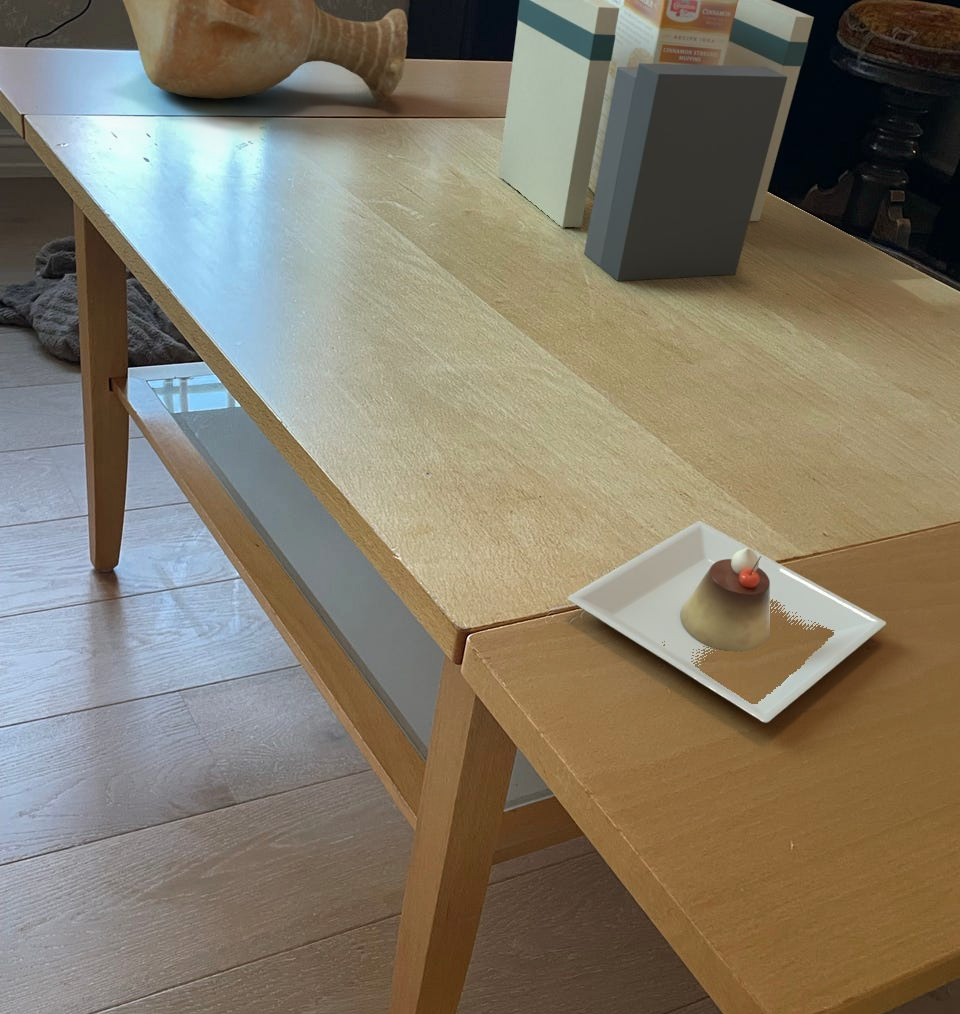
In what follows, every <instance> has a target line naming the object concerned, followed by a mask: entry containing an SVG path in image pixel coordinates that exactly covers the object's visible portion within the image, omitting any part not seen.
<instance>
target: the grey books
mask: <svg viewBox="0 0 960 1014" xmlns="http://www.w3.org/2000/svg"><path fill="white" fill-rule="evenodd" d="M786 81H787V76H784V75H782V74H780V73H778V72H776V71H774V70H772V69H770V68H767V67H757V66H721V65H684V64H648V63H639V66H638V67H617V72H616V78H615V83H614V89H613V95H612V100H611V106H610V111H609V117H608V123H607V128H606V134H605V139H604V145H603V151H602V156H601V162H600V167H599V173H598V178H597V184H596V190H595V194H594V196H593V201H592V207H591V212H590V217H589V218H590V219H589V223H588V229H587V234H586V240H585V241H586V242H585V245H584V246H585V247H584V252H583V255H585V256H586V257H587V258H589V259H590V260H591V261H592V262H593V263H594V264H596V265H597V266H599V267H600V268H601V269H602V270H603V271H604V272H606V273H607V274H608V275H609V276H610V277H612V278H613V279H614V280H615V281H617V282H620V281H621V282H622V281H623V282H624V281H641V280H642V281H643V280H658V279H659V280H661V279H676V278H677V279H678V278H679V279H680V278H692V277H693V278H694V277H710V276H711V277H712V276H727V275H728V276H729V275H730V276H731V275H736V274H737V270H738V266H739V262H740V259H741V254H742V252H743V251H742V250H743V248H744V243H745V240H746V236H747V232H748V229H749V224H750V222H751V221H750V217H751V213H752V210H753V206H754V202H755V198H756V194H757V191H758V187H759V183H760V179H761V176H762V172H763V168H764V164H765V160H766V157H767V153H768V149H769V145H770V141H771V138H772V134H773V130H774V126H775V123H776V119H777V115H778V111H779V107H780V104H781V100H782V96H783V92H784V88H785V85H786Z"/></svg>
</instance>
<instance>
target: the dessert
mask: <svg viewBox="0 0 960 1014" xmlns="http://www.w3.org/2000/svg"><path fill="white" fill-rule="evenodd" d="M772 599H773V602H774V601H776V600H777V602H780V603H778V606H779V605H780V604H781V606H780V607H779V608H778V610H779V609H780V608H781V607H782V606H783V605H785V606H783V607H782V609H781V611H782V610H783V609H784V608H785V609H784V610H783V611H782V612H783V613H784V612H785V611H786V614H787V613H788V612H789V611H790V612H789V614H788V615H787V617H788V616H789V615H790V617H789V618H788V619H787V621H788V620H789V619H790V618H791V617H792V616H793V615H794V617H792V618H791V621H792V620H793V619H794V618H795V617H796V616H798V617H796V618H795V619H794V620H795V621H796V620H797V619H798V622H799V621H800V620H801V619H802V621H801V622H800V623H799V625H800V624H801V623H802V622H803V621H804V620H805V621H804V622H803V623H802V626H803V625H804V624H805V623H806V626H807V625H808V624H809V627H810V626H811V625H812V624H813V623H814V622H816V623H814V624H813V627H814V626H815V625H816V624H818V623H819V624H818V625H821V626H820V627H822V626H824V627H823V628H826V627H827V629H830V630H834V631H832V632H834V635H833V636H832V637H830V638H828V641H826V642H825V644H824V645H822V647H821V648H819V649H818V650H817V651H815V652H814V653H813V654H812V656H810V657H808V658H809V659H807V660H806V661H805V664H804V665H802V666H801V668H800V669H797V671H796V672H794V673H793V674H791V675H789V677H788V678H787V679H786V680H785V681H784V682H783V683H782V684H781V686H778V687H776V689H774V690H773V692H771V694H767V695H766V697H765V698H764V699H761V701H759V702H758V704H751V703H749V702H748V701H746V700H744V699H743V698H741V697H740V696H739V695H737V694H736V693H734V692H732V691H731V690H729V689H727V688H726V687H724V686H723V685H721V684H720V683H718V682H717V681H715V680H714V679H712V678H711V677H709V676H708V675H706V674H705V673H703V672H702V671H700V669H699V668H697V667H695V664H697V663H695V664H693V663H694V662H696V661H698V660H695V659H697V658H699V657H700V656H702V655H704V654H701V653H703V652H704V651H701V650H703V649H705V648H706V647H708V646H710V647H709V648H706V649H705V651H706V650H708V649H710V648H711V647H713V649H715V648H716V649H719V650H724V651H735V652H737V651H740V652H742V651H743V650H744V651H746V650H750V649H755V648H757V647H759V646H761V645H762V644H764V643H765V642H766V641H767V640H768V638H769V636H770V606H771V604H772V603H771V604H770V601H771V600H772ZM567 600H568V601H569V602H570V603H572V604H574V605H575V606H577V607H579V608H580V609H581V610H584V612H586V613H588V614H589V615H592V616H593V617H595V618H596V619H598V620H599V621H601V622H603V623H604V624H605V625H607V626H608V627H610V628H612V629H614V630H615V631H617V632H618V633H620V634H622V635H623V636H624V637H626V638H628V639H630V640H631V641H632V642H634V643H636V644H638V645H639V646H641V647H642V648H644V649H646V650H647V651H649V652H650V653H652V654H654V655H655V656H656V657H659V658H660V659H662V660H663V661H665V662H667V663H668V664H670V666H673V668H676V669H678V670H679V671H680V672H682V673H684V674H685V675H687V676H688V677H690V678H692V679H693V680H695V681H697V682H698V683H700V684H702V686H704V687H706V688H707V689H709V690H711V691H713V692H714V693H715V694H717V695H719V696H721V697H722V698H723V699H725V700H727V701H729V702H730V703H731V704H733V705H734V706H736V707H738V708H739V709H741V710H743V711H744V712H746V713H748V714H749V715H750V716H752V717H753V718H755V719H757V720H759V721H760V722H762V723H765V724H767V723H769V722H770V721H772V719H774V718H775V717H776V716H777V715H778V714H780V713H781V712H782V711H783V710H784V709H786V708H788V707H789V705H791V704H792V703H793V702H794V701H795V700H797V699H798V698H799V697H800V696H801V695H803V694H804V693H806V691H807V690H809V689H810V688H811V687H812V686H814V685H815V684H816V683H817V682H818V681H819V680H821V679H822V678H823V677H824V676H825V675H826V674H828V673H829V672H831V671H832V670H833V669H834V668H835V667H836V666H837V665H839V664H840V663H841V662H843V661H844V660H845V659H846V658H847V657H849V656H850V655H851V654H852V653H853V652H855V651H856V650H857V649H858V648H859V647H861V646H862V645H863V644H864V643H866V642H867V641H868V640H869V639H870V638H871V637H872V636H874V635H875V634H876V633H878V632H879V631H880V630H881V629H883V628H884V626H886V625H887V622H886V621H885V620H884V619H881V618H880V617H877V616H876V615H874V614H872V613H871V612H869V611H867V610H865V609H863V608H861V607H859V606H857V605H856V604H854V603H852V602H851V601H849V600H846V599H845V598H843V597H841V596H839V595H838V594H835V593H834V592H832V591H830V590H828V589H826V588H825V587H823V586H821V585H820V584H817V583H816V582H814V581H812V580H810V579H808V578H806V577H805V576H803V575H800V574H799V573H797V572H795V571H794V570H792V569H790V568H788V567H786V566H784V565H783V564H781V563H779V562H777V561H775V560H773V559H772V558H770V557H768V556H766V555H764V554H763V553H760V552H759V551H757V550H756V549H753V548H752V547H750V546H748V545H746V544H744V543H742V542H740V541H739V540H737V539H735V538H733V537H731V536H730V535H727V534H726V533H724V532H722V531H720V530H719V529H717V528H714V527H713V526H711V525H708V524H707V523H705V522H704V521H703V520H697V521H695V522H694V523H692V524H690V525H689V526H687V527H685V528H683V529H682V530H680V531H677V532H676V533H675V534H673V535H671V536H670V537H668V538H666V539H665V540H663V541H661V542H659V543H658V544H655V545H654V546H652V547H651V548H649V549H647V550H645V551H644V552H642V553H641V554H639V555H637V556H635V557H633V558H632V559H630V560H628V561H626V562H624V563H623V564H621V565H619V566H617V567H616V568H615V569H613V570H611V571H609V572H608V573H606V574H604V575H603V576H601V577H599V578H597V579H596V580H594V581H592V582H591V583H589V584H587V585H586V586H584V587H582V588H580V589H578V590H577V591H575V592H573V593H572V594H570V595H568V596H567ZM777 602H776V603H777ZM776 603H775V604H776ZM775 604H774V606H775ZM774 606H773V607H774ZM778 606H777V607H778ZM773 607H771V609H772V608H773ZM777 607H775V608H774V609H776V608H777ZM773 611H774V610H773ZM773 611H772V612H773ZM781 611H780V612H781ZM772 612H771V613H772ZM776 612H777V611H776ZM776 612H775V613H776ZM780 612H779V613H780ZM792 612H793V613H792ZM796 612H797V613H796ZM795 613H796V614H795ZM786 614H785V615H786ZM785 615H784V616H785ZM784 616H783V617H784ZM800 616H801V617H800ZM808 620H809V621H808ZM791 621H790V622H791ZM811 621H812V622H811ZM790 622H789V623H790ZM798 622H797V623H798ZM793 623H794V622H793ZM793 623H791V625H792V624H793ZM797 623H796V624H797ZM796 624H795V625H796ZM818 625H816V627H817V626H818ZM806 626H805V627H806ZM805 627H804V628H805ZM809 627H807V628H806V630H807V629H808V628H809ZM813 627H811V628H810V630H811V629H812V628H813ZM804 628H803V629H804ZM814 629H815V628H814ZM814 629H813V630H814ZM664 641H665V642H664ZM662 642H663V643H662ZM703 643H704V644H703ZM664 644H665V646H663V645H664ZM703 646H705V647H703ZM693 649H694V650H693ZM698 649H700V650H698ZM713 649H710V651H711V650H713ZM696 650H697V651H696ZM699 651H700V653H697V652H699ZM710 651H708V652H710ZM715 651H716V650H715ZM692 652H694V653H692ZM708 652H705V654H706V653H708ZM696 653H697V654H696ZM712 653H713V652H712ZM710 654H711V653H710ZM692 655H694V656H692ZM697 655H699V656H698V657H695V656H697ZM706 656H707V655H706ZM706 656H704V657H706ZM704 657H703V658H704ZM691 658H693V659H691ZM700 659H702V658H699V660H700ZM693 660H694V661H693ZM704 660H705V659H704ZM691 661H693V662H691ZM699 662H701V661H698V663H699ZM699 665H701V664H699ZM699 665H698V666H699Z"/></svg>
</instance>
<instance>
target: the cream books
mask: <svg viewBox="0 0 960 1014" xmlns="http://www.w3.org/2000/svg"><path fill="white" fill-rule="evenodd" d="M618 14H619V8H618V7H616V6H614V5H612V4H610V3H608V2H606V1H604V0H519V1H518V10H517V18H516V19H517V24H516V31H515V32H516V33H515V41H514V46H513V47H514V49H513V56H512V63H511V71H510V79H509V88H508V95H507V103H506V111H505V119H504V126H503V136H502V141H501V150H500V158H499V166H498V175H499V176H500V177H501V178H502V179H504V180H505V181H507V183H509V184H510V185H511V186H513V187H514V188H515V189H516V190H518V191H519V192H520V193H521V194H522V195H523V196H525V197H526V198H527V199H528V200H529V201H531V202H532V203H533V204H534V205H536V206H537V207H538V208H539V209H540V210H539V209H538V208H537V207H536V206H535V207H536V208H537V209H538V210H539V211H541V210H542V211H543V212H544V213H545V214H544V213H543V212H542V211H541V212H542V213H543V214H544V215H545V216H547V215H548V216H549V217H550V218H549V217H548V216H547V217H548V218H549V219H551V220H552V221H553V220H554V221H555V222H554V221H553V222H554V223H556V224H557V225H558V226H559V225H560V226H559V227H561V228H562V229H566V228H565V227H575V228H582V225H583V220H584V214H585V209H586V202H587V197H588V190H589V187H588V186H589V180H590V174H591V168H592V163H593V157H594V151H595V146H596V140H597V134H598V128H599V123H600V117H601V111H602V105H603V100H604V94H605V88H606V83H607V77H608V71H609V65H610V61H611V59H612V53H613V48H614V42H615V36H616V35H615V31H616V25H617V20H618ZM814 19H815V17H814V16H811V15H809V14H807V13H804V12H801V11H799V10H796V9H794V8H791V7H789V6H786V5H784V4H782V3H779V2H777V1H774V0H739V1H738V4H737V8H736V12H735V16H734V20H733V25H732V29H731V33H730V38H729V42H728V46H727V51H726V55H725V59H724V63H723V66H757V67H767V68H770V69H772V70H774V71H776V72H778V73H780V74H782V75H784V76H787V81H786V85H785V88H784V92H783V96H782V100H781V104H780V107H779V111H778V115H777V119H776V123H775V126H774V130H773V134H772V138H771V141H770V145H769V149H768V153H767V157H766V160H765V164H764V168H763V172H762V176H761V179H760V183H759V187H758V191H757V194H756V198H755V202H754V206H753V210H752V213H751V217H750V221H749V222H759V221H760V219H761V216H762V211H763V208H764V204H765V201H766V198H767V192H768V189H769V186H770V182H771V179H772V176H773V172H774V167H775V163H776V160H777V156H778V152H779V149H780V145H781V142H782V138H783V135H784V131H785V127H786V124H787V123H786V122H787V120H788V115H789V111H790V108H791V105H792V101H793V98H794V93H795V90H796V85H797V83H798V79H799V75H800V72H801V71H800V70H801V68H802V66H803V63H804V59H805V55H806V52H807V48H808V44H809V38H810V34H811V30H812V27H813V26H812V25H813V22H814ZM498 175H497V176H498ZM501 178H500V179H501ZM502 179H501V180H502ZM507 183H506V184H507ZM511 186H510V187H511ZM516 190H515V191H516ZM521 194H520V195H521ZM522 195H521V196H522ZM523 196H522V197H523ZM526 198H525V199H526ZM527 199H526V200H527ZM528 200H527V201H528ZM529 201H528V202H529ZM531 202H530V203H531ZM532 203H531V204H532ZM533 204H532V205H533ZM534 205H533V206H534Z"/></svg>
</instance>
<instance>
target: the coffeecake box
mask: <svg viewBox="0 0 960 1014" xmlns="http://www.w3.org/2000/svg"><path fill="white" fill-rule="evenodd" d="M604 1H606V2H608V3H610V4H612V5H614V6H616V7H618V8H619V14H618V20H617V25H616V31H615V35H616V36H615V42H614V48H613V53H612V59H611V61H610V65H609V71H608V77H607V83H606V88H605V94H604V100H603V105H602V111H601V117H600V123H599V128H598V134H597V140H596V146H595V151H594V157H593V163H592V168H591V174H590V180H589V186H588V189H590V191H592V193H593V194H594V195H595V190H596V184H597V178H598V173H599V167H600V162H601V156H602V151H603V145H604V139H605V134H606V128H607V123H608V117H609V111H610V106H611V100H612V95H613V89H614V83H615V78H616V72H617V67H638V66H639V63H648V64H684V65H721V66H723V63H724V59H725V55H726V51H727V46H728V42H729V38H730V33H731V29H732V25H733V20H734V16H735V12H736V8H737V4H738V1H739V0H604Z"/></svg>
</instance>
